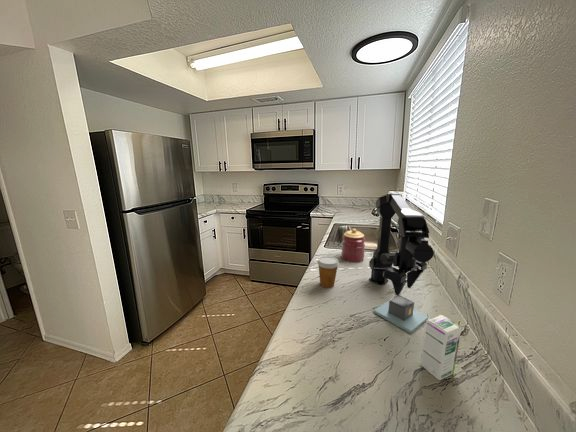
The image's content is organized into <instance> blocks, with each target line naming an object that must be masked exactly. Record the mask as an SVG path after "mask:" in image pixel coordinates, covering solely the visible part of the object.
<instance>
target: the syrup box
mask: <svg viewBox="0 0 576 432" xmlns="http://www.w3.org/2000/svg"><path fill="white" fill-rule="evenodd" d="M425 322H426V323H425V328H424V336H423V341H422V343H423V344H422V349H421V350H422V351H421V358H420V365H421V366H422V368H424V369H425V370H426V371H427V372H428V373H430V374H431V375H432V376H433V377H434V378H436V380H438V381H439V382H440V381H442V380H444V379H445V378H447V377H450V376H451V375H454V373H455V369H456V363H457V362H456V361H457V356H458V350H459V344H460V337H461V333H462V326H461V325H460V324H458V323H456V322H455V321H453V320H452V319H450V318H449V317H446V316H445V315H442V314H439V315H437V316H433V317H431V318H428V320H426V321H425Z"/></svg>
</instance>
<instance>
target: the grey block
mask: <svg viewBox="0 0 576 432" xmlns="http://www.w3.org/2000/svg"><path fill="white" fill-rule="evenodd" d="M389 300H390V301H389ZM389 300H388V301H389V310H388V312H389V313H390V314H392V315H394V316H396V317H398V318H400V319H402V320H403V321H405V320H406V319H407V318H409V317H410V316H411V315H413V310H415V309H414V308H415V307H414V306H415V301H413V300H411V299H408V298H407V297H404V296H402V295H400V294H399V295H396V296H394V297H392V298H391V299H389Z"/></svg>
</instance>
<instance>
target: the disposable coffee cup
mask: <svg viewBox="0 0 576 432" xmlns="http://www.w3.org/2000/svg"><path fill="white" fill-rule="evenodd" d="M316 263H317V266H318V273H319V284H320V286H321V287H323V288H327V289H329V288H333V287H334V286H335V283H336V277H337V270H338V267H339V265H340V262H339V259H338V258H336V257H333V256H331V255H330V256H329V255H328V256H327V255H324V256H320V257H319V258H318V259H317V262H316Z"/></svg>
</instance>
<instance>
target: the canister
mask: <svg viewBox="0 0 576 432" xmlns="http://www.w3.org/2000/svg"><path fill="white" fill-rule="evenodd" d="M341 239H342V242H341V253H340V256H341V258H342V259H343V260H344V259H345V260H344V261H347V260H348V261H347V262H351V261H353V262H352V263H357V262H358V263H359V262H362V261H363V260H364V258H365V247H366V244H365V241H366V238H365V234H364V233H362V232H361V231H359V230H357V229H356V228H352V229H351V230H347V231H346V232H344V233H343V236H342V237H341Z"/></svg>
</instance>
